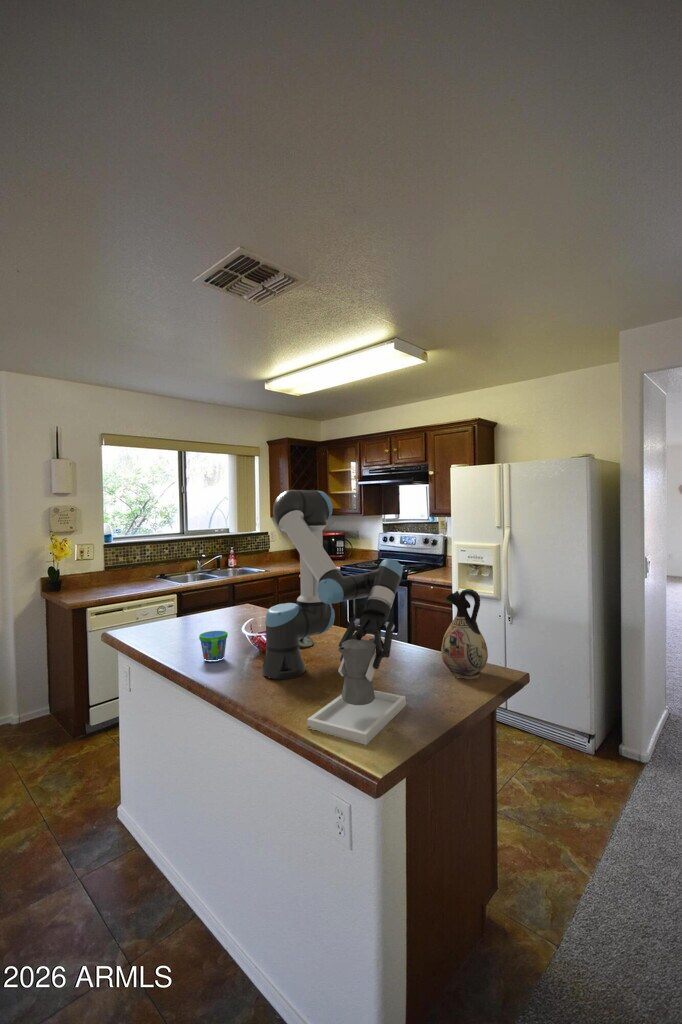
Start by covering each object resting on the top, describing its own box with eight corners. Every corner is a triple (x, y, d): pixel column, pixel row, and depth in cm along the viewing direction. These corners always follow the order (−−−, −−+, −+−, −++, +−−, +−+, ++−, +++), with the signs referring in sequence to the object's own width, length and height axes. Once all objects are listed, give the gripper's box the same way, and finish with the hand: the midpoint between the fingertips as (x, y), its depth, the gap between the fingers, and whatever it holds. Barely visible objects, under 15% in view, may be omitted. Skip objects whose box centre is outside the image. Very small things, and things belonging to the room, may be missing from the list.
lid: (300, 640, 201) (300, 629, 201) (318, 643, 195) (318, 632, 195) (284, 646, 192) (284, 635, 192) (303, 650, 187) (302, 638, 187)
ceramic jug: (432, 676, 155) (431, 588, 155) (455, 664, 167) (453, 582, 167) (479, 688, 144) (478, 594, 144) (500, 675, 155) (499, 587, 155)
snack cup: (201, 655, 183) (200, 629, 183) (228, 652, 185) (228, 627, 185) (198, 668, 168) (197, 640, 168) (227, 665, 170) (227, 638, 170)
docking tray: (307, 728, 120) (306, 719, 120) (353, 693, 142) (353, 685, 142) (366, 744, 111) (365, 734, 111) (406, 705, 133) (405, 696, 133)
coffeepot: (349, 711, 118) (349, 641, 117) (328, 698, 125) (329, 632, 125) (393, 696, 127) (394, 632, 126) (372, 685, 134) (372, 624, 134)
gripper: (414, 615, 134) (393, 689, 120) (353, 609, 144) (327, 676, 130) (407, 600, 129) (384, 675, 115) (344, 595, 140) (316, 663, 126)
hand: (354, 676), depth 123 cm, fingers closed on coffeepot, 8 cm apart
